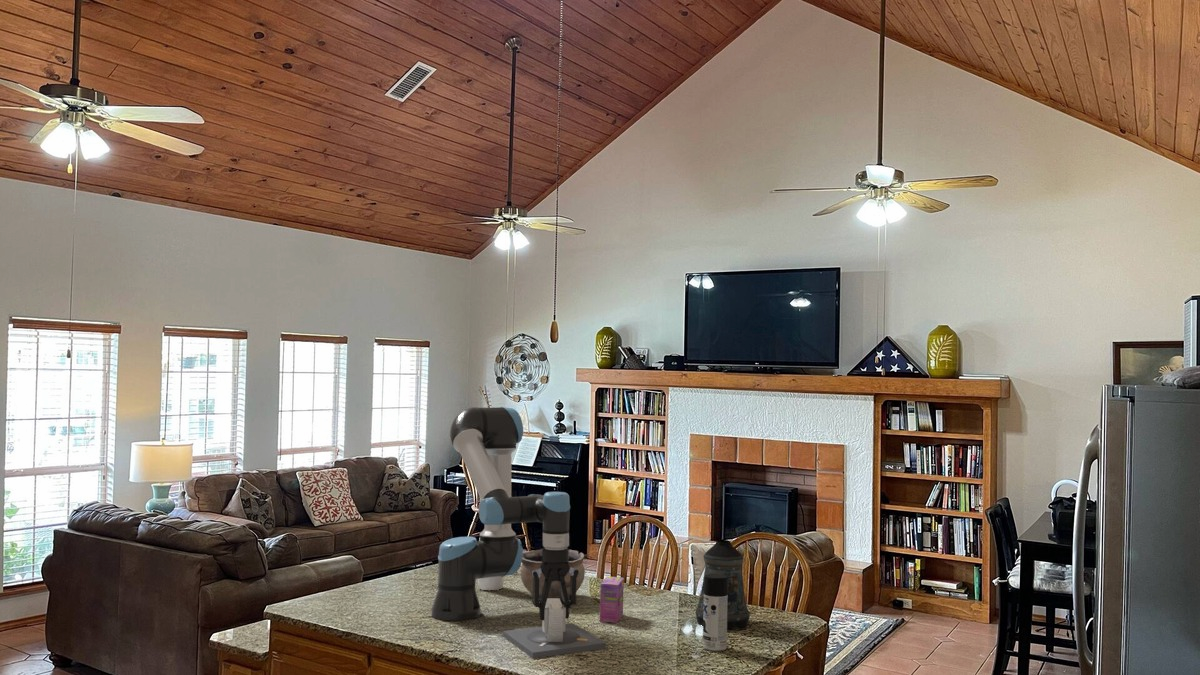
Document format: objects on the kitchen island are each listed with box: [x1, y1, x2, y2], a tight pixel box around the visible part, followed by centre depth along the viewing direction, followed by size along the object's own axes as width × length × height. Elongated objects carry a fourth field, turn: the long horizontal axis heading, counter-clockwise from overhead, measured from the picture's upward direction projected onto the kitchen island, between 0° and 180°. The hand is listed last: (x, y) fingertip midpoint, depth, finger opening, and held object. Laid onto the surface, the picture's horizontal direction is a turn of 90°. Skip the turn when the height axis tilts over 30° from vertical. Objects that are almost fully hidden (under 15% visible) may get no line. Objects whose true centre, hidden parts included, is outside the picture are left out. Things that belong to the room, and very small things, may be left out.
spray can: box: [702, 574, 728, 653], centre depth 247 cm, size 7×7×20 cm
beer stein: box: [695, 539, 751, 631], centre depth 275 cm, size 16×19×25 cm
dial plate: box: [502, 622, 607, 659], centre depth 250 cm, size 22×22×2 cm
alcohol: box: [477, 537, 504, 592], centre depth 314 cm, size 9×9×30 cm
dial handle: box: [545, 598, 564, 642], centre depth 250 cm, size 12×4×10 cm, turn 8°
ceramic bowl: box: [520, 548, 586, 601], centre depth 300 cm, size 22×22×15 cm
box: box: [599, 576, 625, 624], centre depth 276 cm, size 10×6×12 cm, turn 168°
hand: (553, 630), depth 250 cm, fingers closed on dial handle, 5 cm apart
